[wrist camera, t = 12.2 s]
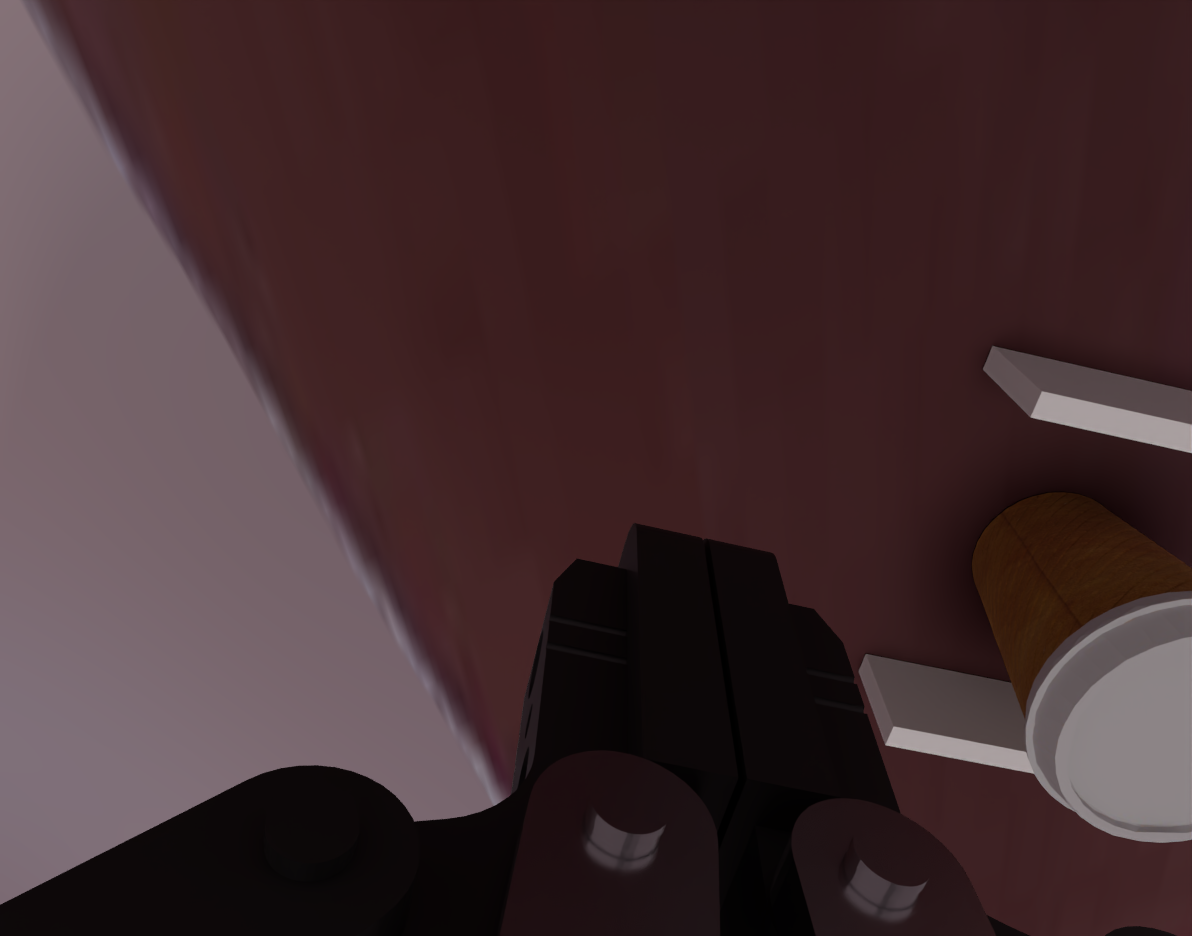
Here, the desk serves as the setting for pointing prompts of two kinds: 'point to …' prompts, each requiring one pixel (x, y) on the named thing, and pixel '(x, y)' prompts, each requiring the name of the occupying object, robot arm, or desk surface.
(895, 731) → the grey bay
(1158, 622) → the disposable coffee cup
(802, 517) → the desk surface
